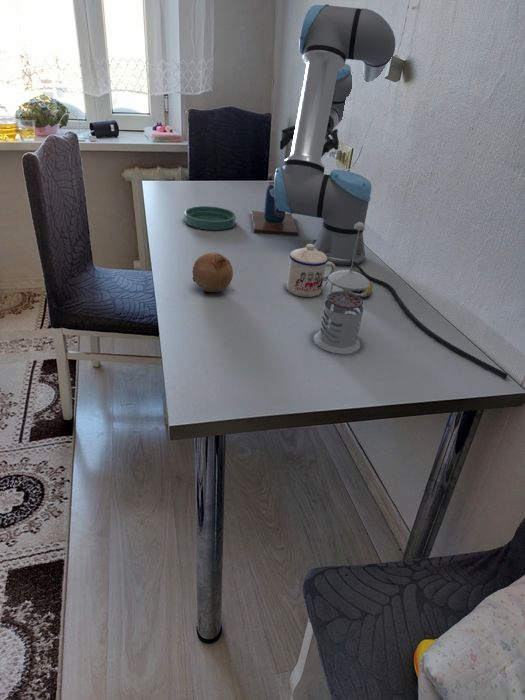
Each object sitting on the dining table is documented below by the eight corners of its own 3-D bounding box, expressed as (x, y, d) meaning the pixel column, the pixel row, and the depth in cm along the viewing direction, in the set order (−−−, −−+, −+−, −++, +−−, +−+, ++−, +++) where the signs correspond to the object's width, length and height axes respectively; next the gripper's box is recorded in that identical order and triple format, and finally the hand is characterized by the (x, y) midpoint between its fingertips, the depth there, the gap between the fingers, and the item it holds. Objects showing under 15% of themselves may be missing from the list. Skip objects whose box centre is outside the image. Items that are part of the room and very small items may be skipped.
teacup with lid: (292, 298, 119) (298, 252, 113) (280, 283, 126) (286, 238, 120) (338, 297, 122) (347, 251, 116) (324, 281, 129) (332, 238, 123)
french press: (328, 357, 98) (352, 232, 85) (301, 328, 106) (318, 212, 93) (370, 350, 101) (398, 230, 88) (340, 323, 110) (362, 210, 97)
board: (297, 236, 159) (298, 232, 158) (253, 232, 158) (254, 229, 157) (290, 217, 176) (291, 213, 175) (251, 214, 175) (251, 210, 174)
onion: (224, 305, 119) (239, 277, 112) (185, 295, 116) (198, 265, 109) (225, 277, 125) (239, 248, 118) (188, 266, 122) (201, 236, 115)
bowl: (235, 232, 156) (235, 223, 155) (182, 228, 155) (183, 219, 153) (234, 217, 170) (235, 208, 168) (186, 213, 168) (186, 204, 167)
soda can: (277, 225, 162) (281, 188, 156) (259, 220, 165) (262, 183, 159) (287, 221, 167) (292, 184, 161) (270, 216, 170) (274, 180, 164)
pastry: (348, 280, 131) (351, 267, 129) (373, 286, 129) (376, 272, 127) (342, 294, 123) (345, 280, 121) (369, 300, 122) (372, 286, 120)
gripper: (356, 141, 173) (335, 169, 160) (291, 127, 180) (265, 152, 168) (360, 119, 167) (338, 146, 155) (291, 106, 175) (265, 130, 162)
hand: (300, 149), depth 161 cm, fingers open, 13 cm apart
